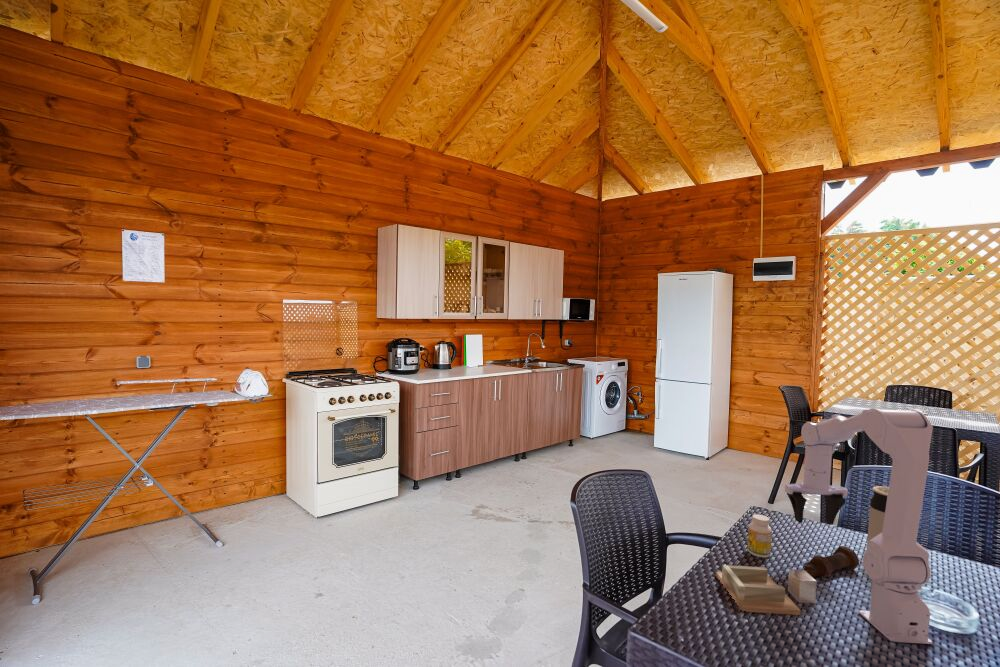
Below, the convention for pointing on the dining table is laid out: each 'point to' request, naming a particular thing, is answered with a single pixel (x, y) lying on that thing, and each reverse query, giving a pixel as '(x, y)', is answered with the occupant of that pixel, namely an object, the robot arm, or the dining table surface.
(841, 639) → the dining table surface
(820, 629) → the dining table surface
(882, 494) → the travel mug
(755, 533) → the supplement bottle
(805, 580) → the link block
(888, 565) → the robot arm
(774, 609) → the keeper cradle
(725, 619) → the dining table surface
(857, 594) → the dining table surface
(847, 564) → the bolt
